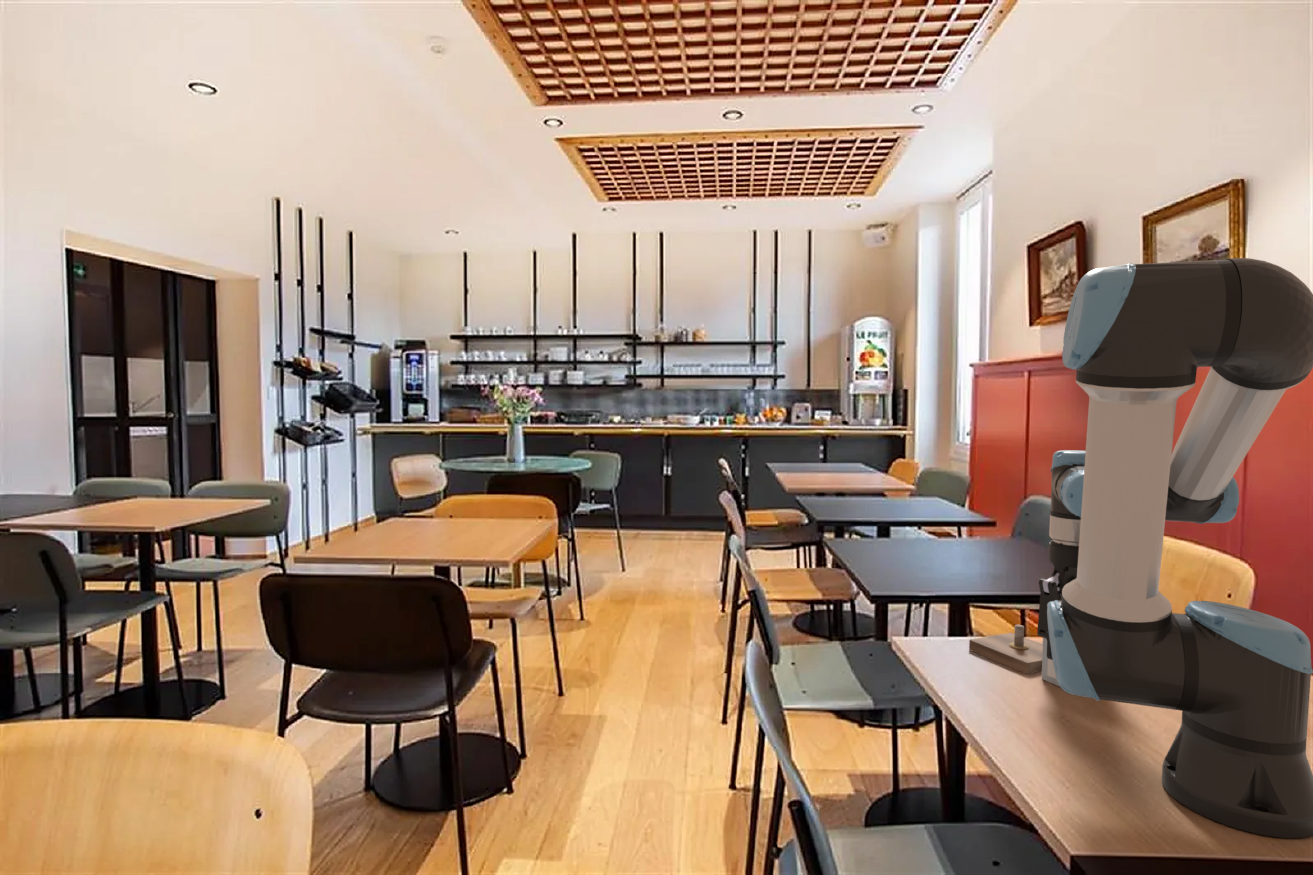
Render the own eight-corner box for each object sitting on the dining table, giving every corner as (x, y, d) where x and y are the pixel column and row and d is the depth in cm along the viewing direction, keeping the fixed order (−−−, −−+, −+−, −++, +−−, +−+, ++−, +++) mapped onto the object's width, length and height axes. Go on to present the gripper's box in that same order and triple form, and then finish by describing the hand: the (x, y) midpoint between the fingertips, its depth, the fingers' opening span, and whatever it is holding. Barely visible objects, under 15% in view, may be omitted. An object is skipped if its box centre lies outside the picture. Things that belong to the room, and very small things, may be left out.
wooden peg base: (1027, 674, 126) (1028, 640, 126) (969, 650, 138) (970, 619, 138) (1070, 665, 130) (1071, 632, 130) (1010, 642, 142) (1011, 612, 142)
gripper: (1054, 550, 114) (1049, 692, 115) (1134, 541, 121) (1128, 674, 123) (1014, 541, 121) (1010, 675, 122) (1092, 533, 128) (1087, 659, 129)
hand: (1069, 674), depth 122 cm, fingers closed on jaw, 6 cm apart
